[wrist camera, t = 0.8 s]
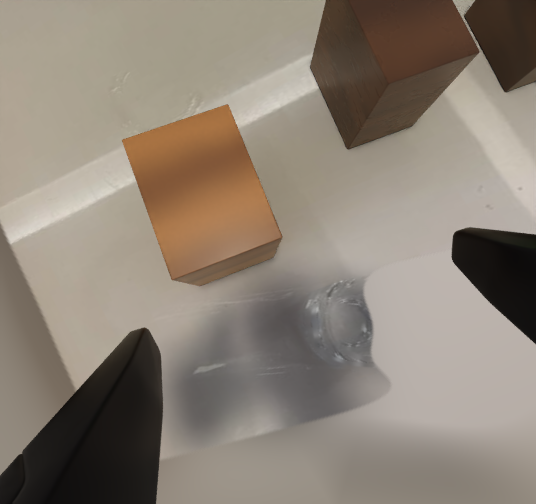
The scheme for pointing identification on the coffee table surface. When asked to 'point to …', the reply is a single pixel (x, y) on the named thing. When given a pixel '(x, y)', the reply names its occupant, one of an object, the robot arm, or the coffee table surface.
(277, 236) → the oak block
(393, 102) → the walnut block near
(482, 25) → the walnut block far
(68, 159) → the coffee table surface
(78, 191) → the coffee table surface
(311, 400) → the coffee table surface
